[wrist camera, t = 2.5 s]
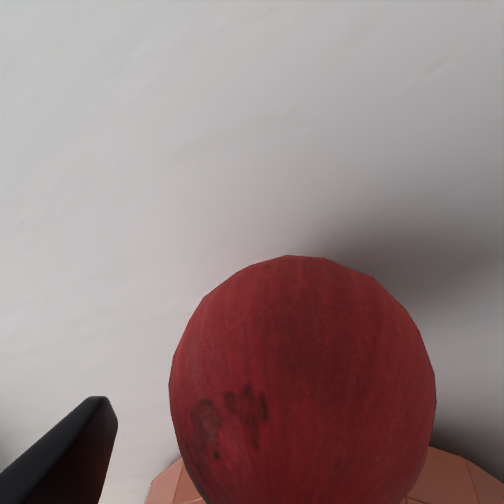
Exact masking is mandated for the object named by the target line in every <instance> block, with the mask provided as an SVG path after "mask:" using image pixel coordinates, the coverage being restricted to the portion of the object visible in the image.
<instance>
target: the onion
mask: <svg viewBox="0 0 504 504" xmlns="http://www.w3.org/2000/svg"><path fill="white" fill-rule="evenodd" d="M168 386H169V398H170V410H171V416H172V421H173V425H174V429H175V433H176V438H177V442H178V446H179V450H180V453H181V456H182V459H183V462H184V465H185V468H186V471H187V473H188V475H189V476H190V478H191V480H192V482H193V484H194V486H195V487H196V489H197V491H198V492H199V494H200V495H201V497H202V498H203V499H204V501H205V502H206V504H400V503H401V502H402V501H403V500H404V498H405V497H406V495H407V494H408V493H409V491H410V490H411V489H412V487H413V486H414V485H415V483H416V481H417V479H418V477H419V475H420V472H421V470H422V468H423V466H424V464H425V460H426V455H427V451H428V447H429V442H430V438H431V434H432V429H433V422H434V416H435V410H436V403H437V402H436V388H435V374H434V371H433V368H432V365H431V363H430V360H429V357H428V354H427V351H426V348H425V345H424V343H423V340H422V337H421V334H420V331H419V330H418V328H417V326H416V325H415V323H414V322H413V320H412V318H411V317H410V315H409V313H408V312H407V310H406V309H405V308H404V307H403V306H402V305H401V304H400V303H399V302H398V301H396V300H395V299H394V298H393V297H392V296H391V295H390V294H389V293H388V292H387V291H386V290H385V289H384V288H383V287H382V286H381V285H380V284H379V283H378V282H377V281H376V280H375V279H374V278H373V277H370V276H367V275H364V274H362V273H359V272H356V271H354V270H351V269H348V268H346V267H344V266H342V265H339V264H337V263H335V262H333V261H330V260H328V259H326V258H319V257H305V256H292V255H285V256H282V257H278V258H275V259H271V260H267V261H264V262H260V263H256V264H253V265H250V266H248V267H246V268H244V269H242V270H240V271H238V272H236V273H235V274H234V275H232V276H231V277H230V278H228V279H227V280H226V281H224V282H223V283H222V284H221V285H219V286H218V287H217V288H215V289H214V290H213V291H211V292H210V293H209V294H207V295H206V296H205V297H204V298H203V299H202V301H201V302H200V304H199V305H198V307H197V309H196V310H195V312H194V314H193V315H192V317H191V318H190V320H189V322H188V324H187V327H186V329H185V331H184V333H183V336H182V338H181V340H180V342H179V345H178V347H177V349H176V351H175V353H174V356H173V361H172V367H171V373H170V379H169V385H168Z"/></svg>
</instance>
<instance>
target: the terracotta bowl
mask: <svg viewBox="0 0 504 504" xmlns="http://www.w3.org/2000/svg"><path fill="white" fill-rule="evenodd" d="M144 504H206V502H205V501H204V499H203V498H202V497H201V495H200V494H199V492H198V491H197V489H196V487H195V486H194V484H193V482H192V480H191V478H190V476H189V475H188V473H187V471H186V468H185V465H184V462H183V459H182V457H181V458H179V459H178V460H177V461H176V462H174V463H173V464H172V465H171V466H170V467H168V468H167V469H166V470H165V471H163V472H162V473H161V474H160V475H159V476H157V477H156V478H155V479H154V480H153V481H152V483H151V486H150V488H149V491H148V494H147V496H146V499H145V501H144ZM400 504H504V483H502V482H501V481H499V480H498V479H496V478H495V477H493V476H492V475H490V474H489V473H487V472H486V471H484V470H483V469H481V468H480V467H478V466H477V465H475V464H474V463H472V462H471V461H469V460H468V459H465V458H463V457H461V456H458V455H455V454H452V453H449V452H446V451H443V450H440V449H437V448H434V447H431V446H429V447H428V451H427V455H426V460H425V464H424V466H423V468H422V470H421V472H420V475H419V477H418V479H417V481H416V483H415V485H414V486H413V487H412V489H411V490H410V491H409V493H408V494H407V495H406V497H405V498H404V500H403V501H402V502H401V503H400Z"/></svg>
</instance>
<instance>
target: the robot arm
mask: <svg viewBox="0 0 504 504" xmlns="http://www.w3.org/2000/svg"><path fill="white" fill-rule="evenodd" d="M117 429H118V420H117V417H116V415H115V413H114V410H113V408H112V406H111V404H110V401H109V399H108V398H107V397H105V396H91V397H88V398H87V399H85V400H84V401H83V402H82V403H81V404H80V405H78V406H77V407H76V408H75V409H74V410H73V411H72V412H70V413H69V414H68V415H67V416H66V417H65V418H64V419H62V420H61V421H60V422H59V423H58V424H57V425H55V426H54V427H53V428H52V429H51V430H50V431H49V432H47V433H46V434H45V435H44V436H43V437H42V438H40V439H39V440H38V441H37V442H36V443H35V444H34V445H32V446H31V447H30V448H29V449H28V450H27V451H26V452H24V453H23V454H22V455H21V456H20V457H19V458H17V459H16V460H15V461H14V462H13V463H12V464H11V465H9V466H8V467H7V468H6V469H5V470H4V471H2V472H1V473H0V504H98V502H99V499H100V496H101V492H102V489H103V485H104V481H105V477H106V473H107V469H108V465H109V461H110V457H111V453H112V449H113V445H114V441H115V437H116V433H117Z"/></svg>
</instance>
